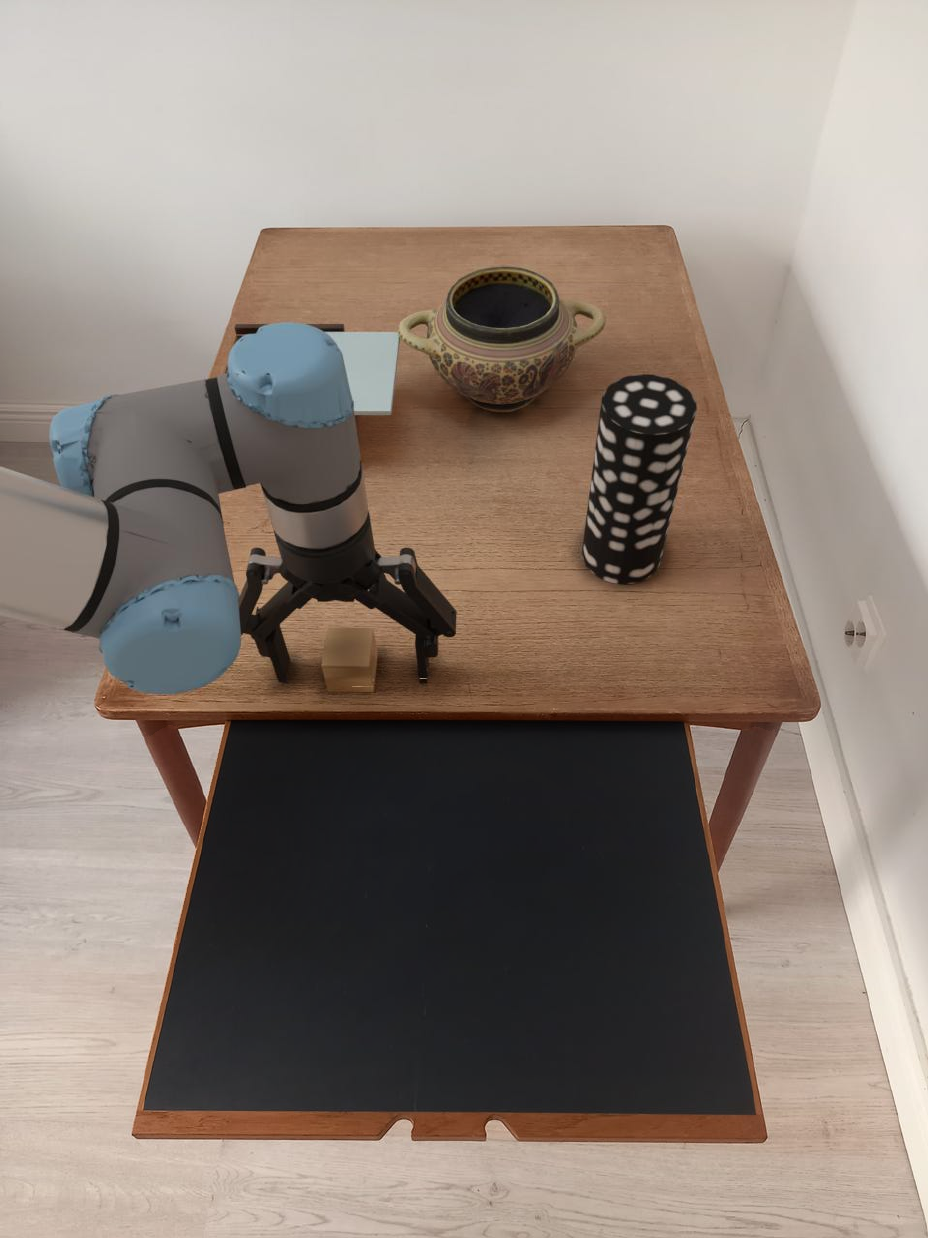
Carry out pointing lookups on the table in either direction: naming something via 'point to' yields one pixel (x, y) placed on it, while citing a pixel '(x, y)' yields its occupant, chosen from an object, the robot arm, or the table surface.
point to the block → (349, 659)
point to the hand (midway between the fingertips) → (354, 671)
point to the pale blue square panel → (370, 368)
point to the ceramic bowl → (502, 336)
